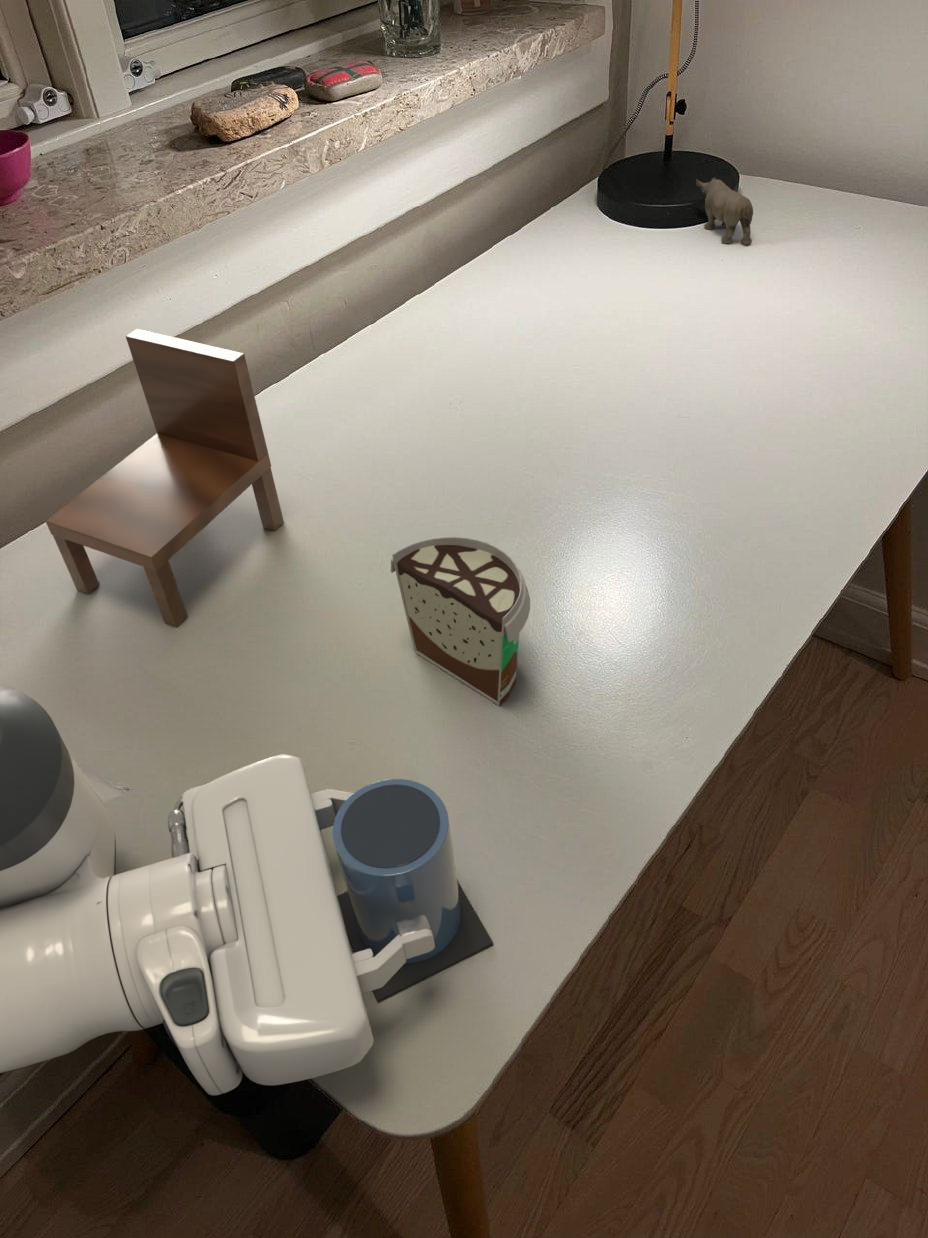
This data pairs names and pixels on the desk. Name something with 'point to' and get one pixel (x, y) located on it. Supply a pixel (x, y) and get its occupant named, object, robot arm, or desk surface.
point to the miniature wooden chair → (173, 467)
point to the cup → (398, 862)
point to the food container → (464, 610)
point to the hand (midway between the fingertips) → (409, 864)
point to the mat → (462, 946)
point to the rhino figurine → (727, 209)
